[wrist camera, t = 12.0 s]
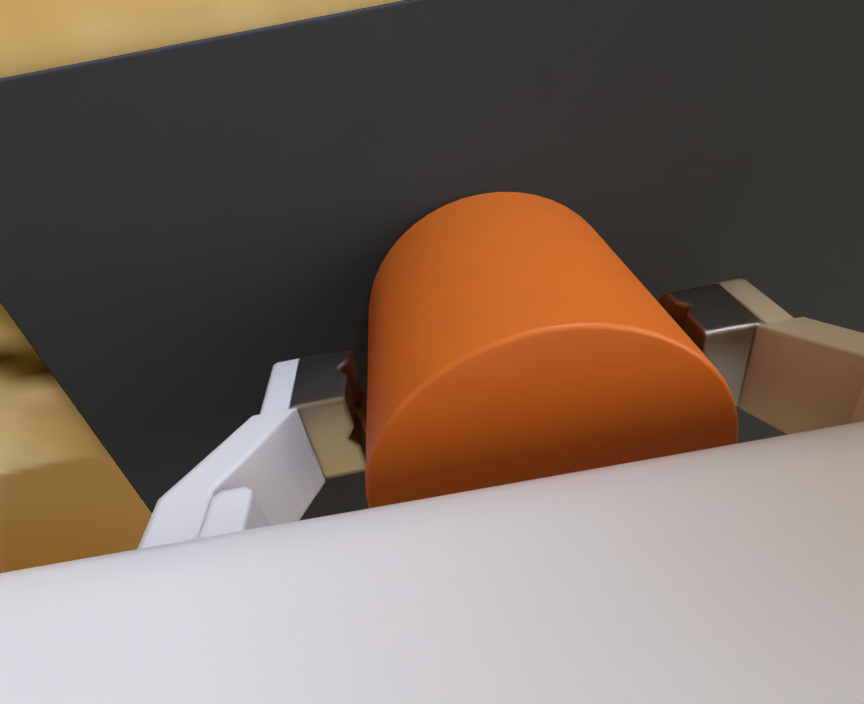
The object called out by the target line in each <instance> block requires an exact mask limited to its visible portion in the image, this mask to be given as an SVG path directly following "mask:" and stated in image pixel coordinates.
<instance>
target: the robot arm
mask: <svg viewBox="0 0 864 704" xmlns="http://www.w3.org/2000/svg"><path fill="white" fill-rule="evenodd" d="M658 302H659V304H660V305H661V306H662V307H663V308H664V309H665V310H666V312H667V313H668V314H669V315H670V316H671V317H672V318H673V319H674V321H675V322H676V323H677V324H678V325H679V326H680V327H681V329H682V330H683V331H684V332H685V333H686V334H687V335H688V336H689V338H690V339H691V340H692V341H693V342H694V343H695V344H696V345H697V347H698V348H699V349H700V350H701V351H702V352H703V353H704V355H705V356H706V357H707V358H708V359H709V360H710V361H711V362H712V364H713V365H714V366H715V367H716V369H717V370H718V371H719V373H720V374H721V375H722V376H723V378H724V379H725V380H726V383H727V385H728V387H729V389H730V391H731V393H732V395H733V398H734V402H735V406H739V408H740V409H742V410H743V411H745V412H747V413H749V414H751V415H753V416H754V417H756V418H758V419H760V420H762V421H764V422H766V423H767V424H769V425H771V426H773V427H775V428H777V429H778V430H780V431H782V432H784V433H786V434H788V435H783V436H777V437H771V438H766V439H760V440H754V441H749V442H743V443H737V444H732V445H726V446H720V447H715V448H709V449H703V450H698V451H692V452H686V453H681V454H675V455H669V456H664V457H658V458H652V459H647V460H641V461H635V462H630V463H624V464H618V465H613V466H607V467H601V468H596V469H590V470H584V471H579V472H573V473H567V474H562V475H556V476H550V477H544V478H539V479H533V480H527V481H522V482H516V483H510V484H505V485H499V486H493V487H488V488H482V489H476V490H471V491H465V492H459V493H454V494H448V495H442V496H436V497H431V498H425V499H419V500H414V501H408V502H402V503H397V504H391V505H385V506H380V507H374V508H368V509H363V510H357V511H351V512H346V513H340V514H334V515H328V516H323V517H317V518H311V519H306V520H300V519H301V517H302V516H303V514H304V513H305V511H306V510H307V508H308V507H309V505H310V504H311V502H312V501H313V499H314V498H315V496H316V495H317V494H318V492H319V491H320V489H321V488H322V486H323V485H324V483H325V482H326V481H325V479H328V478H333V477H338V476H343V475H348V474H353V473H358V472H363V471H365V468H366V435H365V434H366V419H367V402H366V397H365V393H364V390H363V386H362V385H361V384H360V383H359V382H357V381H356V380H357V366H356V363H355V360H354V357H353V354H352V353H351V351H350V350H348V351H342V352H336V353H330V354H324V355H317V356H311V357H305V358H301V359H299V358H298V359H293V360H287V361H282V362H277V363H276V364H274V365H273V367H272V371H271V375H270V378H269V382H268V386H267V389H266V393H265V397H264V400H263V404H262V408H261V411H260V415H254V416H252V417H250V418H249V419H248V420H247V421H246V422H245V423H244V424H243V425H242V426H240V427H239V428H238V429H237V430H236V431H235V432H234V433H233V434H231V435H230V436H229V437H228V438H227V439H226V440H225V441H224V442H222V443H221V444H220V445H219V446H218V447H217V448H216V449H215V450H213V451H212V452H211V453H210V454H209V455H208V456H207V457H206V458H204V459H203V460H202V461H201V462H200V463H199V464H198V465H197V466H195V467H194V468H193V469H192V470H191V471H190V472H189V473H188V474H186V475H185V476H184V477H183V478H182V479H181V480H180V481H179V482H177V483H176V484H175V485H174V486H173V487H172V488H171V489H170V490H168V491H167V492H166V493H165V494H164V495H163V496H162V497H161V498H159V499H158V501H157V504H156V506H155V508H154V511H153V513H152V515H151V518H150V520H149V522H148V525H147V527H146V529H145V532H144V534H143V537H142V539H141V541H140V544H139V546H138V548H137V549H135V550H130V551H124V552H118V553H113V554H107V555H102V556H96V557H91V558H84V559H79V560H73V561H67V562H62V563H56V564H51V565H44V566H39V567H33V568H28V569H22V570H16V571H10V572H5V573H0V704H864V333H862V332H858V331H854V330H850V329H847V328H843V327H839V326H835V325H832V324H828V323H824V322H821V321H817V320H813V319H809V318H806V317H798V318H794V317H792V316H791V315H790V314H788V313H787V312H786V311H785V310H783V309H782V308H781V307H780V306H778V305H777V304H776V303H775V302H773V301H772V300H771V299H769V298H768V297H767V296H766V295H764V294H763V293H762V292H761V291H759V290H758V289H757V288H755V287H754V286H753V285H752V284H750V283H749V282H748V281H747V280H745V279H740V278H737V279H732V280H728V281H723V282H718V283H714V284H710V285H705V286H701V287H696V288H691V289H686V290H681V291H676V292H671V293H666V294H661V296H660V299H659V301H658ZM299 520H300V521H299Z"/></svg>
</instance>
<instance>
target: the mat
mask: <svg viewBox="0 0 864 704" xmlns="http://www.w3.org/2000/svg"><path fill="white" fill-rule="evenodd" d="M493 192H520V193H527V194H533V195H537V196H541V197H544V198H547V199H551V200H553V201H555V202H557V203H559V204H562V205H564V206H566V207H567V208H569V209H571V210H572V211H574V212H575V213H577V214H578V215H580V216H581V217H582V218H583V219H584V220H585V221H586V222H587V223H588V224H589V225H590V226H591V227H592V228H593V229H594V230H595V231H596V232H597V233H598V235H599V236H600V237H601V238H602V239H603V240H604V241H605V242H606V244H607V245H608V246H609V247H610V248H611V249H612V250H613V252H614V253H615V254H616V255H617V256H618V257H619V258H620V259H621V261H622V262H623V263H624V264H625V265H626V266H627V267H628V268H629V270H630V271H631V272H632V273H633V274H634V275H635V276H636V278H637V279H638V280H639V281H640V282H641V283H642V284H643V285H644V287H645V288H646V289H647V290H648V291H649V292H650V293H651V295H652V296H653V297H654V298H655V299H656V300H657V301H659V299H660V296H661V294H666V293H671V292H676V291H681V290H686V289H691V288H696V287H701V286H705V285H710V284H714V283H718V282H723V281H728V280H732V279H737V278H740V279H745V280H747V281H748V282H749V283H750V284H752V285H753V286H754V287H755V288H757V289H758V290H759V291H761V292H762V293H763V294H764V295H766V296H767V297H768V298H769V299H771V300H772V301H773V302H775V303H776V304H777V305H778V306H780V307H781V308H782V309H783V310H785V311H786V312H787V313H788V314H790V315H791V316H792V317H794V318H798V317H806V318H809V319H813V320H817V321H821V322H824V323H828V324H832V325H835V326H839V327H843V328H847V329H850V330H854V331H858V332H862V333H864V0H404V1H399V2H394V3H388V4H383V5H378V6H373V7H368V8H363V9H357V10H352V11H347V12H342V13H337V14H332V15H326V16H321V17H316V18H311V19H306V20H300V21H295V22H290V23H285V24H280V25H275V26H269V27H264V28H259V29H254V30H249V31H243V32H238V33H233V34H228V35H223V36H218V37H212V38H207V39H202V40H197V41H192V42H187V43H181V44H176V45H171V46H166V47H161V48H155V49H150V50H145V51H140V52H135V53H130V54H124V55H119V56H114V57H109V58H104V59H99V60H93V61H88V62H83V63H78V64H73V65H67V66H62V67H57V68H52V69H47V70H42V71H36V72H31V73H26V74H21V75H16V76H11V77H5V78H0V302H1V304H2V305H3V306H4V308H5V309H6V311H7V312H8V313H9V315H10V316H11V318H12V319H13V320H14V322H15V323H16V324H17V326H18V327H19V329H20V330H21V331H22V333H23V334H24V336H25V337H26V338H27V340H28V341H29V343H30V344H31V345H32V347H33V348H34V350H35V351H36V352H37V354H38V355H39V357H40V358H41V359H42V361H43V362H44V364H45V365H46V366H47V368H48V369H49V370H50V372H51V373H52V375H53V376H54V377H55V379H56V380H57V382H58V383H59V384H60V386H61V387H62V389H63V390H64V391H65V393H66V394H67V396H68V397H69V398H70V400H71V401H72V403H73V404H74V405H75V407H76V408H77V410H78V411H79V412H80V414H81V415H82V416H83V418H84V419H85V421H86V422H87V423H88V425H89V426H90V428H91V429H92V430H93V432H94V433H95V435H96V436H97V437H98V439H99V440H100V442H101V443H102V444H103V446H104V447H105V449H106V450H107V451H108V453H109V454H110V455H111V457H112V458H113V460H114V461H115V462H116V464H117V465H118V467H119V468H120V469H121V471H122V472H123V474H124V475H125V476H126V478H127V479H128V481H129V482H130V483H131V485H132V486H133V488H134V489H135V490H136V492H137V493H138V495H139V496H140V497H141V499H142V500H143V501H144V503H145V504H146V506H147V507H148V508H149V510H150V511H151V512H152V513H153V511H154V508H155V506H156V504H157V501H158V499H159V498H161V497H162V496H163V495H164V494H165V493H166V492H167V491H168V490H170V489H171V488H172V487H173V486H174V485H175V484H176V483H177V482H179V481H180V480H181V479H182V478H183V477H184V476H185V475H186V474H188V473H189V472H190V471H191V470H192V469H193V468H194V467H195V466H197V465H198V464H199V463H200V462H201V461H202V460H203V459H204V458H206V457H207V456H208V455H209V454H210V453H211V452H212V451H213V450H215V449H216V448H217V447H218V446H219V445H220V444H221V443H222V442H224V441H225V440H226V439H227V438H228V437H229V436H230V435H231V434H233V433H234V432H235V431H236V430H237V429H238V428H239V427H240V426H242V425H243V424H244V423H245V422H246V421H247V420H248V419H249V418H250V417H252V416H254V415H260V411H261V408H262V404H263V400H264V397H265V393H266V389H267V386H268V382H269V378H270V375H271V371H272V367H273V365H274V364H276V363H277V362H282V361H287V360H293V359H298V358H299V359H301V358H305V357H311V356H317V355H324V354H330V353H336V352H342V351H348V350H350V351H351V353H352V354H353V357H354V360H355V363H356V366H357V380H356V381H357V382H359V383H360V384H361V385H362V386H363V390H364V393H365V397H366V402H367V370H368V321H369V302H370V294H371V290H372V286H373V283H374V279H375V277H376V274H377V272H378V270H379V268H380V265H381V263H382V262H383V260H384V259H385V257H386V255H387V254H388V252H389V250H390V249H391V248H392V247H393V245H394V244H395V243H396V242H397V241H398V239H399V238H400V237H401V236H402V235H403V234H404V233H405V232H406V231H407V230H408V229H410V228H411V227H412V226H413V225H414V224H415V223H417V222H418V221H419V220H421V219H422V218H424V217H425V216H426V215H428V214H429V213H431V212H433V211H435V210H437V209H439V208H441V207H442V206H444V205H447V204H449V203H452V202H454V201H457V200H460V199H462V198H466V197H470V196H474V195H478V194H484V193H493ZM736 410H737V414H738V440H737V443H743V442H749V441H754V440H760V439H766V438H771V437H777V436H783V435H788V434H786V433H784V432H782V431H780V430H778V429H777V428H775V427H773V426H771V425H769V424H767V423H766V422H764V421H762V420H760V419H758V418H756V417H754V416H753V415H751V414H749V413H747V412H745V411H743V410H742V409H740V408H739V406H736ZM365 435H366V434H365ZM325 481H326V482H325V483H324V485H323V486H322V488H321V489H320V491H319V492H318V494H317V495H316V496H315V498H314V499H313V501H312V502H311V504H310V505H309V507H308V508H307V510H306V511H305V513H304V514H303V516H302V517H301V519H300V520H306V519H311V518H317V517H323V516H328V515H334V514H340V513H346V512H351V511H357V510H363V509H368V508H369V506H368V502H367V498H366V484H365V471H363V472H358V473H353V474H348V475H343V476H338V477H333V478H328V479H325ZM300 520H299V521H300Z"/></svg>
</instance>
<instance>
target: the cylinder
mask: <svg viewBox="0 0 864 704" xmlns="http://www.w3.org/2000/svg"><path fill="white" fill-rule="evenodd" d="M737 440H738V414H737V410H736V406H735V402H734V398H733V395H732V393H731V391H730V389H729V387H728V385H727V383H726V380H725V379H724V378H723V376H722V375H721V374H720V373H719V371H718V370H717V369H716V367H715V366H714V365H713V364H712V362H711V361H710V360H709V359H708V358H707V357H706V356H705V355H704V353H703V352H702V351H701V350H700V349H699V348H698V347H697V345H696V344H695V343H694V342H693V341H692V340H691V339H690V338H689V336H688V335H687V334H686V333H685V332H684V331H683V330H682V329H681V327H680V326H679V325H678V324H677V323H676V322H675V321H674V319H673V318H672V317H671V316H670V315H669V314H668V313H667V312H666V310H665V309H664V308H663V307H662V306H661V305H660V304H659V302H658V301H657V300H656V299H655V298H654V297H653V296H652V295H651V293H650V292H649V291H648V290H647V289H646V288H645V287H644V285H643V284H642V283H641V282H640V281H639V280H638V279H637V278H636V276H635V275H634V274H633V273H632V272H631V271H630V270H629V268H628V267H627V266H626V265H625V264H624V263H623V262H622V261H621V259H620V258H619V257H618V256H617V255H616V254H615V253H614V252H613V250H612V249H611V248H610V247H609V246H608V245H607V244H606V242H605V241H604V240H603V239H602V238H601V237H600V236H599V235H598V233H597V232H596V231H595V230H594V229H593V228H592V227H591V226H590V225H589V224H588V223H587V222H586V221H585V220H584V219H583V218H582V217H581V216H580V215H578V214H577V213H575V212H574V211H572V210H571V209H569V208H567V207H566V206H564V205H562V204H559V203H557V202H555V201H553V200H551V199H547V198H544V197H541V196H537V195H533V194H527V193H520V192H493V193H484V194H478V195H474V196H470V197H466V198H462V199H460V200H457V201H454V202H452V203H449V204H447V205H444V206H442V207H441V208H439V209H437V210H435V211H433V212H431V213H429V214H428V215H426V216H425V217H424V218H422V219H421V220H419V221H418V222H417V223H415V224H414V225H413V226H412V227H411V228H410V229H408V230H407V231H406V232H405V233H404V234H403V235H402V236H401V237H400V238H399V239H398V241H397V242H396V243H395V244H394V245H393V247H392V248H391V249H390V250H389V252H388V254H387V255H386V257H385V259H384V260H383V262H382V263H381V265H380V268H379V270H378V272H377V274H376V277H375V279H374V283H373V286H372V290H371V294H370V302H369V321H368V370H367V419H366V468H365V484H366V498H367V502H368V506H369V508H374V507H380V506H385V505H391V504H397V503H402V502H408V501H414V500H419V499H425V498H431V497H436V496H442V495H448V494H454V493H459V492H465V491H471V490H476V489H482V488H488V487H493V486H499V485H505V484H510V483H516V482H522V481H527V480H533V479H539V478H544V477H550V476H556V475H562V474H567V473H573V472H579V471H584V470H590V469H596V468H601V467H607V466H613V465H618V464H624V463H630V462H635V461H641V460H647V459H652V458H658V457H664V456H669V455H675V454H681V453H686V452H692V451H698V450H703V449H709V448H715V447H720V446H726V445H732V444H737Z"/></svg>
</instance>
